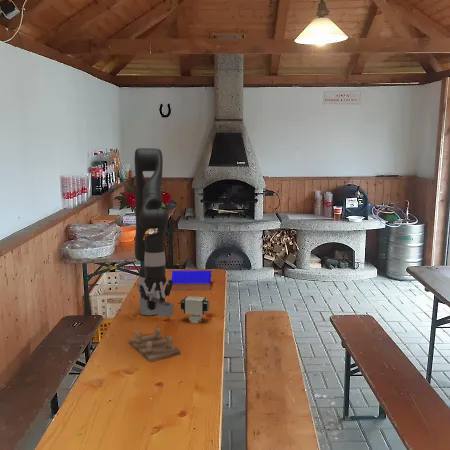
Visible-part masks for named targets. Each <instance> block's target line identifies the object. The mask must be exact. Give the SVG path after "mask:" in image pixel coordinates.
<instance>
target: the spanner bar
mask: <svg viewBox="0 0 450 450" xmlns="http://www.w3.org/2000/svg"><path fill="white" fill-rule="evenodd" d="M152 301H153V310H149V309H148V308H147V300H144V299H143V298H142V297H140V296H139V308H140V307H142V308H144V309H146V310H149V311H151V312H154V313H156V315H158V316H161V317H164V318H168V317H171V316H174V303H171V302H168V301H166V300H165V301H163V300H160V299H157V298H155V297H152Z"/></svg>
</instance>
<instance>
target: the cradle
mask: <svg viewBox="0 0 450 450" xmlns="http://www.w3.org/2000/svg"><path fill="white" fill-rule="evenodd" d="M154 331H155V333H154V334H150V335H149V334H148V335H145V336H142V332H140V331H137V332H135V338H132V339H128V343H129V345H131V346H132V348H134V349H135V350H136V351H137V352H139V353H140V354H141V355H142V356H143V357H144V358H145V359H146V360H147V361H148V362H150V363H151V362H155V361H159V360H163V359H167V358H170V357H171V358H172V357H175V356H179V355H181V350H180V349H179V348H178V347H176V346H174V345H173V337H172V336H171V335H169V336H166V339H165V337H163V336H162V335H161V333H162V332H161V328H160V327H155V328H154Z"/></svg>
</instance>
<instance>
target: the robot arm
mask: <svg viewBox="0 0 450 450" xmlns="http://www.w3.org/2000/svg"><path fill="white" fill-rule="evenodd" d="M133 161H134V176H135V177H134V178H135V201H134V202H135V208H134V209H135V210H134V211H135V213H134V214H135V236H134V237H135V240H134V256H135V259H136V261H138V262H139V261H140V262H144V266H142V267H141V268H140V269H138V284H137V289H138V292H139V298H140V297H142V298H143V299H144V300H147V308H148V309H149V310H153V301H152V297H155V298H157V299H160V300H163V301H165V302H166V297H169V296H170V294H171V291H172V284H173V280H172V278H171V279H170V278H167V277H166V274H167V273H166V254H165V235H166V231H167V228H168V227H167V226H168V223H169V216H170V215H169V213H168V211H167V210H166V209H165V208H162V206H163V197H162V195H163V194H162V182H163V166H164V165H163V163H164V161H163V153H162V150H161V149H160V148H155V147H154V148H153V147H152V148H151V147H150V148H148V147H146V148H145V147H142V148H140V147H139V148H137V149H135V151H134V160H133ZM143 172H153V174H152V175H151V176H150V178H149V179H148V180H147V181H146V178H145V176H144V173H143ZM149 229H151V230H153V229H155V230H156V229H158V231H157V232H155V233H153V234H148V235H146V233H147V231H148V230H149ZM164 286H165V288H164ZM149 310H146V309H144V308H142V307H140V306H139V314H141V315H142V316H155V315H157V314H156V313H154V312H151V311H149Z"/></svg>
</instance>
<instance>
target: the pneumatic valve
mask: <svg viewBox="0 0 450 450" xmlns="http://www.w3.org/2000/svg"><path fill="white" fill-rule="evenodd" d="M180 301H181V302H180V310H182V311H183V314H187V315H188V314H189V316H188V321H189V322H190V323H191V324H192V323H193V324H199V323H202V320H203V318H202V317H203V316H205V314H206V313H207V312H209V311H210V301H209V300H207V297H205V296H202V297H201V296H197V295H193V296H185V297H184V298H183V299H181V300H180ZM201 315H203V316H201Z"/></svg>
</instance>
